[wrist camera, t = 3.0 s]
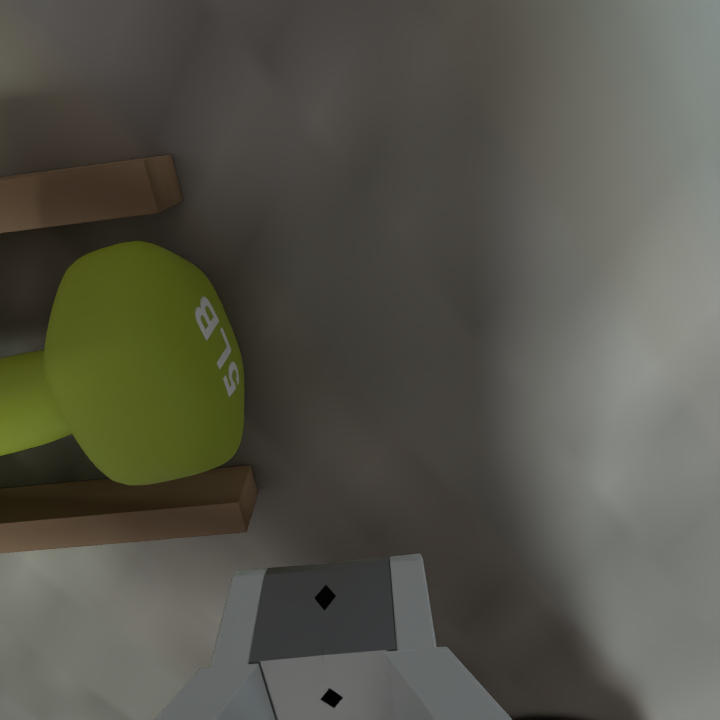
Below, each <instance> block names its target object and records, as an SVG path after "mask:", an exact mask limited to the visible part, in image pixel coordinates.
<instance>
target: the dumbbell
mask: <svg viewBox="0 0 720 720" xmlns="http://www.w3.org/2000/svg"><path fill="white" fill-rule="evenodd" d="M244 392H245V384H244V368H243V361H242V357H241V353H240V349H239V346H238V343H237V340H236V338H235V335H234V332H233V330H232V327H231V325H230V322H229V320H228V318H227V315H226V313H225V310H224V308H223V306H222V303H221V301H220V299H219V297H218V295H217V293H216V291H215V289H214V287H213V286H212V284H211V282H210V280H209V279H208V278H207V277H206V275H205V274H204V273H203V272H202V271H201V270H200V269H199V268H197V267H196V266H195V265H194V264H192V263H190V262H189V261H187V260H185V259H184V258H182V257H180V256H178V255H176V254H174V253H173V252H171V251H169V250H166V249H164V248H162V247H160V246H157V245H155V244H152V243H148V242H143V241H130V242H122V243H119V244H115V245H112V246H108V247H105V248H101V249H98V250H96V251H93V252H90V253H88V254H86V255H84V256H82V257H80V258H79V259H77V260H76V261H75V262H74V263H73V264H72V265H71V266H70V267H69V268H68V269H67V270H66V272H65V274H64V276H63V278H62V281H61V283H60V285H59V287H58V291H57V294H56V297H55V300H54V303H53V307H52V311H51V315H50V319H49V324H48V329H47V334H46V340H45V347H44V350H40V351H33V352H27V353H22V354H17V355H13V356H8V357H4V358H0V456H2V455H6V454H10V453H14V452H18V451H22V450H26V449H29V448H33V447H37V446H40V445H43V444H47V443H50V442H53V441H55V440H58V439H60V438H63V437H65V436H68V435H70V434H73V436H74V437H75V439H76V441H77V442H78V444H79V445H80V447H81V448H82V450H83V451H84V452H85V454H86V455H87V456H88V458H89V459H90V460H91V461H92V463H93V464H94V465H95V466H96V467H97V468H98V469H99V470H100V471H101V472H103V473H104V474H105V475H106V476H107V477H109V478H110V479H111V480H113V481H116V482H119V483H122V484H126V485H149V484H155V483H160V482H166V481H171V480H175V479H179V478H184V477H188V476H192V475H195V474H199V473H202V472H205V471H208V470H210V469H213V468H216V467H218V466H220V465H222V464H224V463H226V462H227V461H229V460H230V459H231V458H232V457H233V456H234V455H235V453H236V452H237V450H238V448H239V446H240V444H241V439H242V434H243V427H244Z"/></svg>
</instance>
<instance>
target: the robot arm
mask: <svg viewBox="0 0 720 720" xmlns="http://www.w3.org/2000/svg"><path fill="white" fill-rule="evenodd" d="M154 720H512V719H511V718H510V716H509V715H508V714H507V713H506V712H505V711H504V710H503V709H502V708H501V706H500V705H499V704H498V703H497V702H496V701H495V700H494V699H493V697H492V696H491V695H490V694H489V693H488V692H487V691H486V690H485V689H484V687H483V686H482V685H481V684H480V683H479V682H478V681H477V680H476V679H475V677H474V676H473V675H472V674H471V673H470V672H469V671H468V670H467V668H466V667H465V666H464V665H463V664H462V663H461V662H460V661H459V660H458V658H457V657H456V656H455V655H454V654H453V653H452V652H451V651H450V650H449V648H448V647H437V646H436V639H435V633H434V627H433V620H432V614H431V607H430V601H429V595H428V588H427V582H426V575H425V569H424V563H423V558H422V556H421V554H420V553H419V554H409V555H399V556H390V560H389V556H388V557H379V558H370V559H360V560H351V561H342V562H332V563H329V564H316V565H302V566H288V567H274V568H267V569H253V570H239V571H236V573H235V575H234V576H233V578H232V580H231V584H230V587H229V591H228V595H227V599H226V603H225V607H224V611H223V615H222V619H221V623H220V627H219V631H218V635H217V639H216V643H215V647H214V651H213V655H212V659H211V663H210V667H209V668H201V669H199V670H198V671H197V672H196V673H195V674H194V675H193V677H192V678H191V679H190V680H189V681H188V682H187V683H186V684H185V686H184V687H183V688H182V689H181V690H180V691H179V692H178V694H177V695H176V696H175V697H174V698H173V699H172V700H171V701H170V703H169V704H168V705H167V706H166V707H165V708H164V709H163V710H162V712H161V713H160V714H159V715H158V716H157V717H156V718H155V719H154Z"/></svg>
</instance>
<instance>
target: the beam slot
mask: <svg viewBox="0 0 720 720" xmlns="http://www.w3.org/2000/svg"><path fill="white" fill-rule="evenodd" d="M182 201H183V197H182V193H181V189H180V186H179V182H178V178H177V174H176V170H175V166H174V162H173V158H172V154H168V155H161V156H153V157H146V158H138V159H131V160H124V161H116V162H109V163H101V164H94V165H86V166H79V167H72V168H64V169H57V170H49V171H42V172H34V173H27V174H20V175H12V176H5V177H0V233H6V232H14V231H22V230H30V229H37V228H45V227H53V226H61V225H69V224H77V223H85V222H92V221H100V220H108V219H116V218H124V217H132V216H139V215H147V214H155V213H159V212H162V211H164V210H166V209H168V208H170V207H172V206H174V205H176V204H178V203H180V202H182ZM257 494H258V491H257V487H256V483H255V480H254V476H253V472H252V468H251V465H245V466H235V467H224V468H214V469H210V470H208V471H205V472H202V473H199V474H195V475H192V476H188V477H184V478H179V479H175V480H171V481H166V482H160V483H155V484H149V485H126V484H122V483H119V482H116V481H113V480H111V479H110V478H107V479H97V480H86V481H76V482H65V483H54V484H44V485H33V486H23V487H12V488H1V489H0V553H9V552H21V551H33V550H44V549H56V548H68V547H79V546H91V545H103V544H114V543H126V542H137V541H149V540H161V539H172V538H184V537H196V536H207V535H219V534H231V533H242V532H247V529H248V526H249V522H250V519H251V515H252V512H253V508H254V505H255V501H256V498H257Z"/></svg>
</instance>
